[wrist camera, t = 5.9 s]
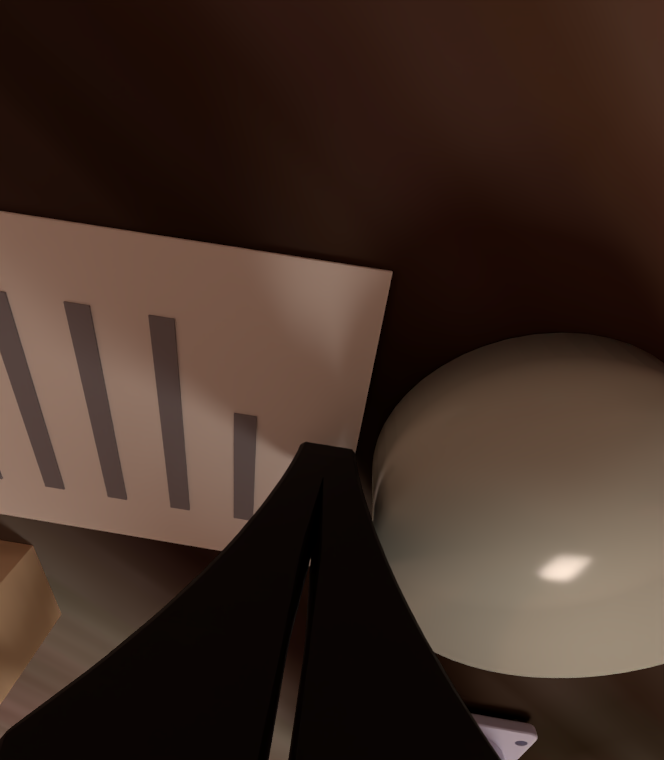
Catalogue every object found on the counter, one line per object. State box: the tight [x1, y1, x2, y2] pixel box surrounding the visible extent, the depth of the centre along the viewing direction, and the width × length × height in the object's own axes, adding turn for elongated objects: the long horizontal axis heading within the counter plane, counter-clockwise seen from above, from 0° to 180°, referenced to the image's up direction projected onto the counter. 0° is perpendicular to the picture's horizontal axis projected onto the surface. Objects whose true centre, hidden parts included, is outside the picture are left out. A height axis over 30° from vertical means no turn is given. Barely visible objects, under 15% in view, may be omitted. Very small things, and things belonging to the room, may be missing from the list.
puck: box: [372, 333, 664, 678], centre depth 9 cm, size 8×8×3 cm
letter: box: [0, 211, 393, 566], centre depth 11 cm, size 10×14×1 cm
